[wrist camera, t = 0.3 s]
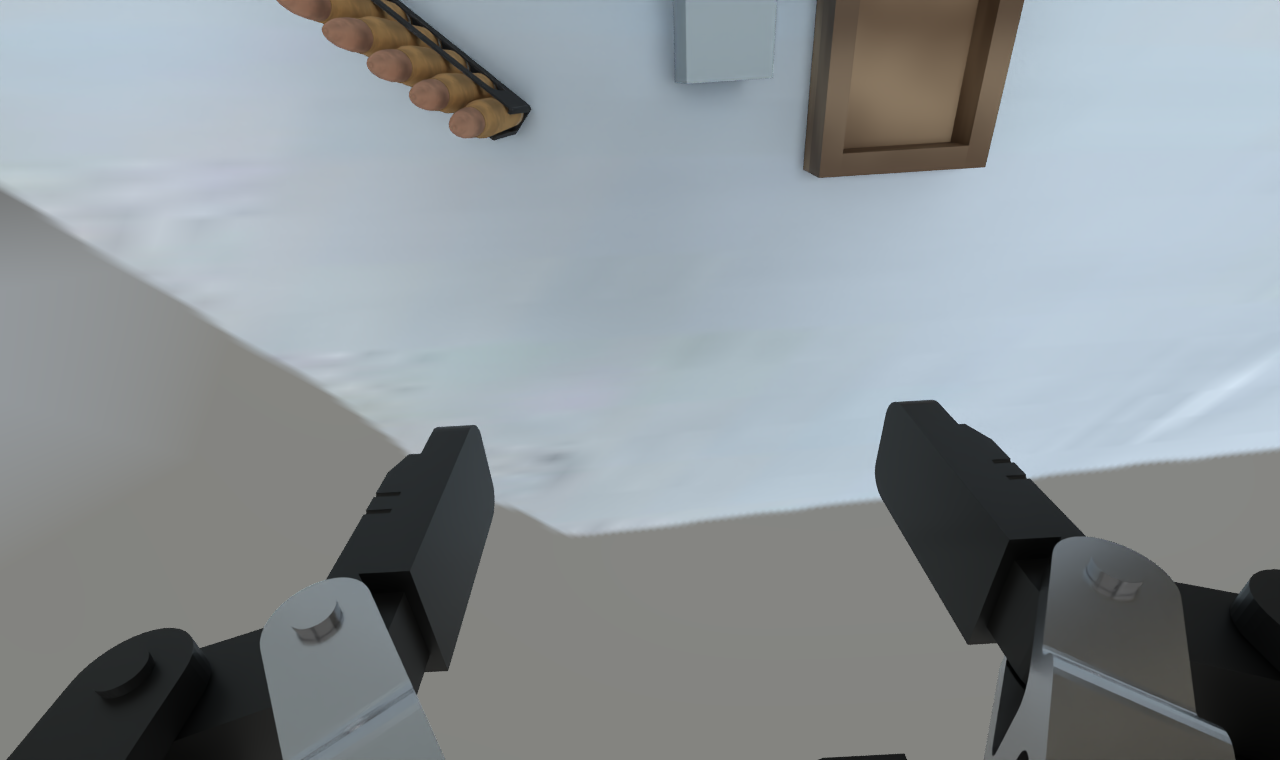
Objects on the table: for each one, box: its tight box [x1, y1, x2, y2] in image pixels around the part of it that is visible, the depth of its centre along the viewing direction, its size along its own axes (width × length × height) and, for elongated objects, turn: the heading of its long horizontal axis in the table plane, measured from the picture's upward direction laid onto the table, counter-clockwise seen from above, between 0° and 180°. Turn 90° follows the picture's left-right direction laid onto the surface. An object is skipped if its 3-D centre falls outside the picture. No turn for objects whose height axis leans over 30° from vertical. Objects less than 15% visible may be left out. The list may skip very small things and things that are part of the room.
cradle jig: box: [803, 0, 1024, 178], centre depth 29 cm, size 16×9×3 cm, turn 3°
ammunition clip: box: [277, 0, 531, 140], centre depth 25 cm, size 11×2×12 cm, turn 52°
